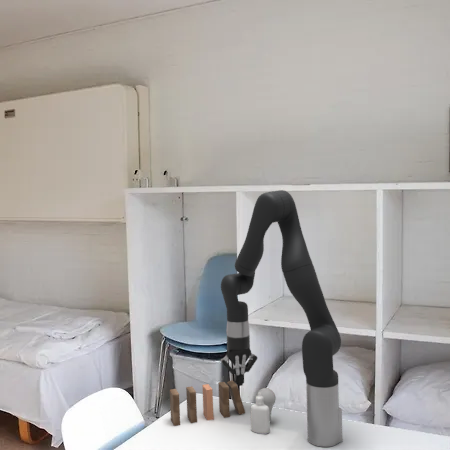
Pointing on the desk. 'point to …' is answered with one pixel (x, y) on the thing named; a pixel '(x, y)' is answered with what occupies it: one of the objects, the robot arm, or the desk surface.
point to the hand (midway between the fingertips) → (239, 384)
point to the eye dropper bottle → (260, 416)
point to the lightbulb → (268, 398)
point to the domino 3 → (208, 402)
